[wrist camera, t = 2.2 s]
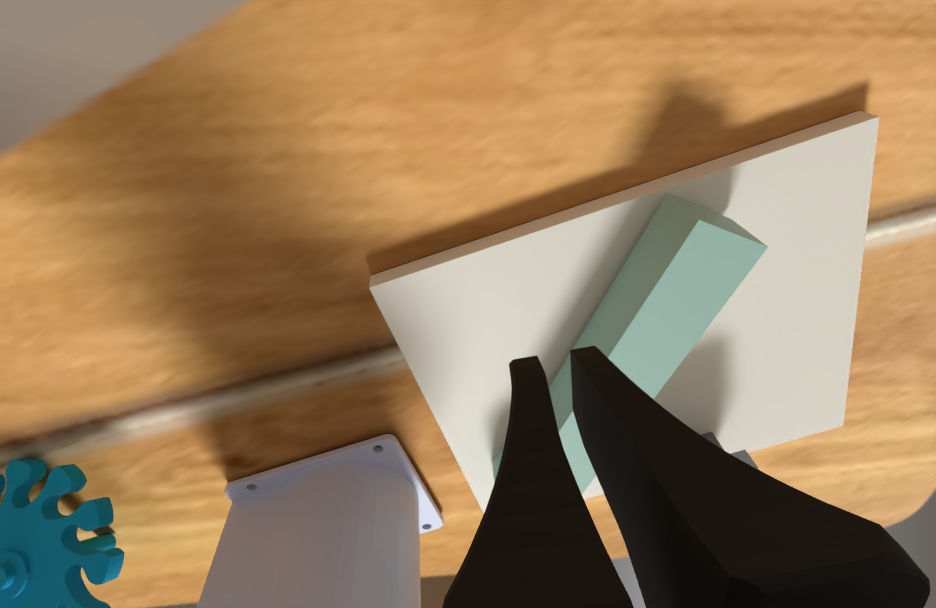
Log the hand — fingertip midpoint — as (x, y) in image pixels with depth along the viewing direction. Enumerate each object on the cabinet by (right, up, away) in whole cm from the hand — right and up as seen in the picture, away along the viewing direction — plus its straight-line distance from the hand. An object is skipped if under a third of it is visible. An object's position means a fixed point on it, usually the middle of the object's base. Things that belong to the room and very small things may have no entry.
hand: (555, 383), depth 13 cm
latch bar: (+3, -1, +11) cm, 11 cm away
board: (+6, 0, +12) cm, 13 cm away
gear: (-24, -8, +14) cm, 29 cm away
